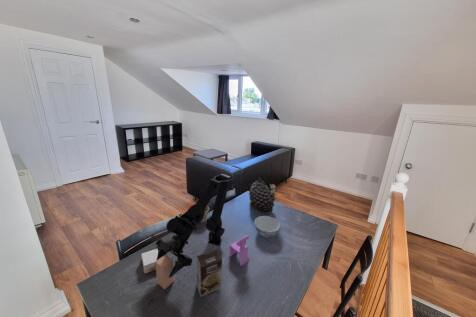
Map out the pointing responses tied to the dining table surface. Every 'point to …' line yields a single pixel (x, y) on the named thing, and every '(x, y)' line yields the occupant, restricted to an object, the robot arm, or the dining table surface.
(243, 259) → the toy chair
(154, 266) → the bottom slab
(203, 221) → the flower pot
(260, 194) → the dark pinecone ornament
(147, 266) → the top slab
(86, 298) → the dining table surface
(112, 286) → the dining table surface
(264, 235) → the chinaware
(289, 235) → the dining table surface
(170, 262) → the pillar
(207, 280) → the coffee box
